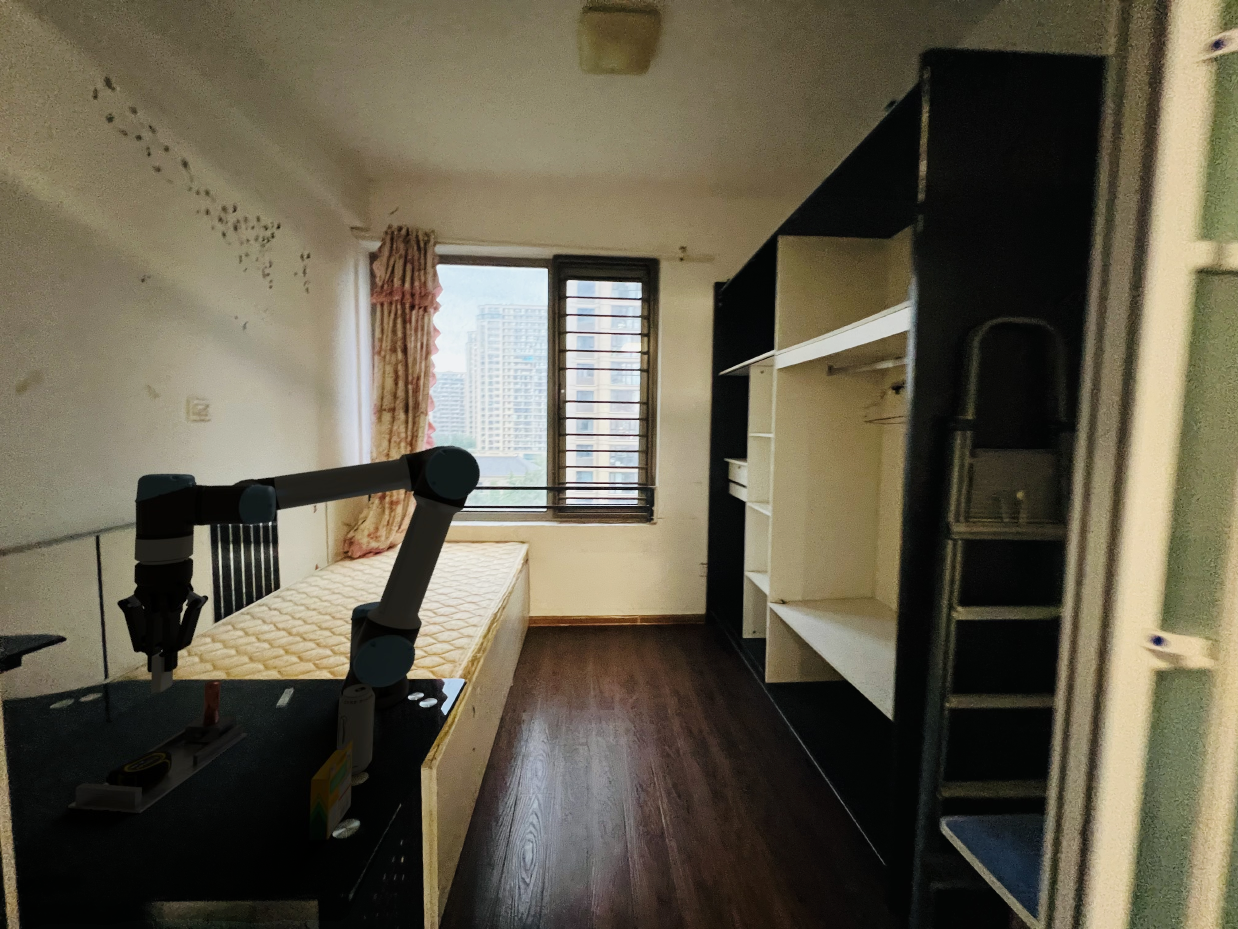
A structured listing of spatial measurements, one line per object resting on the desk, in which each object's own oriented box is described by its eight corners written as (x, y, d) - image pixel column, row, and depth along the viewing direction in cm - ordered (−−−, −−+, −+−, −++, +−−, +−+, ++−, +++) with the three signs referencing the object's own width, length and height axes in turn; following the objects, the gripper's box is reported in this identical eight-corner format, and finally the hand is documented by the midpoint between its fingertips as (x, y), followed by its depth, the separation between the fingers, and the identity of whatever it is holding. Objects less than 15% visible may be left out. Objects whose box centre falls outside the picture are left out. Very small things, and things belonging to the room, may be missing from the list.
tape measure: (153, 765, 85) (154, 745, 85) (181, 772, 84) (182, 752, 84) (104, 790, 78) (105, 769, 78) (134, 799, 77) (135, 777, 77)
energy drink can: (330, 767, 88) (333, 690, 87) (363, 752, 92) (366, 679, 92) (343, 782, 84) (347, 701, 84) (377, 766, 89) (381, 689, 89)
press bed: (247, 735, 96) (247, 719, 96) (139, 813, 75) (140, 792, 75) (191, 731, 96) (191, 715, 96) (68, 808, 75) (69, 787, 75)
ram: (235, 731, 96) (237, 679, 96) (213, 746, 91) (215, 692, 90) (202, 729, 96) (205, 677, 96) (178, 744, 91) (180, 689, 91)
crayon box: (333, 805, 79) (336, 738, 78) (351, 805, 79) (354, 738, 79) (307, 841, 71) (310, 767, 71) (327, 841, 72) (330, 767, 71)
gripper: (220, 555, 87) (217, 677, 88) (141, 554, 85) (138, 679, 85) (190, 564, 80) (187, 698, 80) (102, 564, 78) (100, 701, 78)
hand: (162, 688), depth 83 cm, fingers closed
